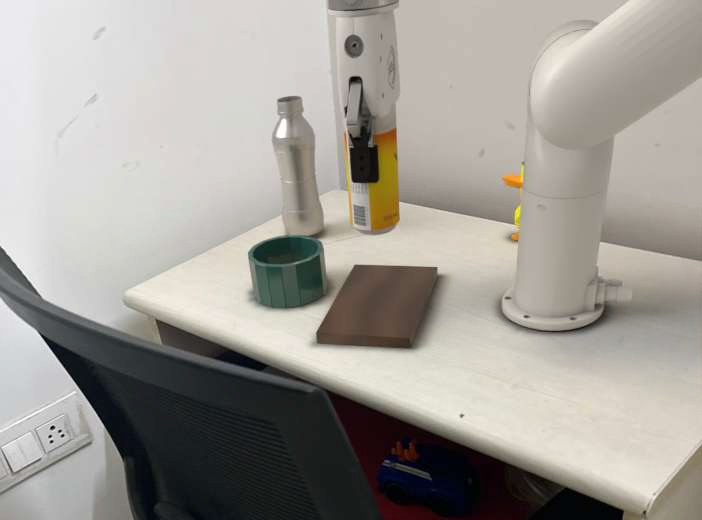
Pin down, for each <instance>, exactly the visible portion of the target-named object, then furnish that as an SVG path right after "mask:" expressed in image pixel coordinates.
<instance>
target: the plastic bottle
mask: <svg viewBox="0 0 702 520" xmlns="http://www.w3.org/2000/svg"><path fill="white" fill-rule="evenodd" d="M303 105H304V104H303V98H302V96H300V95H288V96H283V97H279V98H277V99H276V106H277V107H276V108H277V110H276V114H277V115H278V116H279V118H278V120H277V122H276V124H275V125H274V129H273V131H272V134H271V145H272V149H273V151H274V156H275V158H276V163H277V167H278V171H279V176H280V183H281V194H282V211H281V216H282V224H283V227H284V230H285V231H286V232H287V233H288V235H305V236H309V237H312V236H314V235H317V234H318V233H320V232H321V231H322V229H323V227H324V223H325V214H324V210H323V206H322V203H321V199H320V195H319V189H318V184H317V175H316V134H315V132H314V129H313V127H312V126H311V124H310V123H309V122H308V120H307V119H306V118H305V117H304V115H303V113H304V112H305V109H304V106H303Z"/></svg>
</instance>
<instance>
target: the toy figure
mask: <svg viewBox="0 0 702 520" xmlns="http://www.w3.org/2000/svg"><path fill="white" fill-rule="evenodd" d="M523 171H524V160H523V161H521V169H520V174H508V175H504V176H502V177H501V179H502V181H503V182H504V184H505V186H507V187H510V188H514V189H515V188H516V189H519V190H520V197H521V196H522V183H523ZM520 210H521V203H520V204H519V205H518V206H517V208H516V210H515V211H514V224H515V226H516V228H517V229H518V230H519V224H520ZM518 238H519V231H517V232H516V233H514V234H512V235H511V239H512V240H514V241H518Z"/></svg>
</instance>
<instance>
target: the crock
mask: <svg viewBox="0 0 702 520" xmlns="http://www.w3.org/2000/svg"><path fill="white" fill-rule="evenodd" d="M247 260H248V265H249V271H250V277H251V283H252V289H253V295H254V299H255V300H256V301H257V302H258V303H260V305H263V306H266V307H270V308H276V309H277V308H278V309H288V308H295V307H301V306H302V307H303V306H305V305H308V304H311V303H314V302H317V300H319V299H320V298H322V297H323V296H324V295H325V294H326V292H327V291H328V288H329V287H328V277H327V269H326V268H327V267H326V258H325V249H324V243H323V242H322V241H321V240H319V239H317V237H314V236H305V235H290V234H286V235H279V236H274V237H271V238H270V237H269V238H267V239H264V240H262V241H260V242H258V243H256V244H254V245H253V246H252V247H250V249H249V250H248V251H247Z"/></svg>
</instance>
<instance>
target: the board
mask: <svg viewBox="0 0 702 520" xmlns="http://www.w3.org/2000/svg"><path fill="white" fill-rule="evenodd" d="M438 271H439V269H438V266H424V265H423V266H421V265H419V266H418V265H389V264H387V265H386V264H384V265H383V264H354V265H353V267H352V269H351V270H350V272H349V274H348V276H347V278H346V279H345V281H344V283H343V284H342V286H341V288H340V289H339V291H338V293H337V295H336V297H335V298H334V300H333V302H332V304H331V306H330V307H329V309H328V311H327V313H326V314H325V315H324V318H323V319H322V322H321V323H320V325H319V326H318V329H317V330H316V332H315V334H316V343H317V344H329V345H344V346H345V345H346V346H347V345H348V346H364V347H379V348H397V349H399V348H400V349H411V348H412V345H413V342H414V340H415V337H416V335H417V331H418V330H419V327H420V324H421V322H422V319H423V316H424V313H425V310H426V308H427V306H428V303H429V300H430V298H431V295H432V293H433V290H434V287H435V285H436V282H437V280H438Z"/></svg>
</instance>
